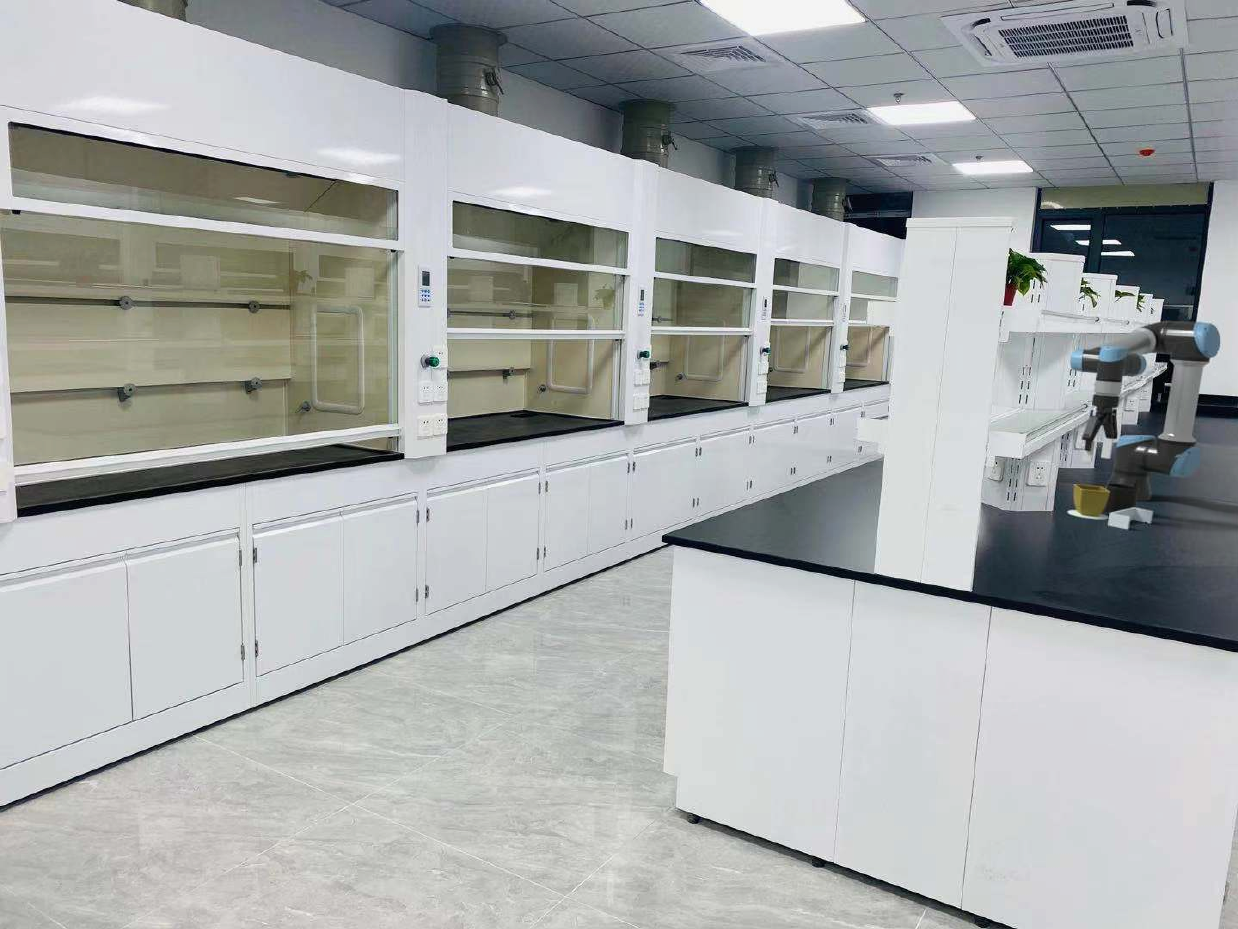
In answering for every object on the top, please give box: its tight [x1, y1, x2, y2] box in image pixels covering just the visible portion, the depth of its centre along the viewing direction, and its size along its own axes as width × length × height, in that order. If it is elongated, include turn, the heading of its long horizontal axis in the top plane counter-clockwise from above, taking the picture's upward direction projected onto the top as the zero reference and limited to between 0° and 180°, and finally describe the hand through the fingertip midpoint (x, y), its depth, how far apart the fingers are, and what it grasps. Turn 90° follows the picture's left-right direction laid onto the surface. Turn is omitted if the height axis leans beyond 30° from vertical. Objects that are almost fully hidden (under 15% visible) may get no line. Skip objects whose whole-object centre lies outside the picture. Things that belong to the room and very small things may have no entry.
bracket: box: [1107, 507, 1154, 530], centre depth 283 cm, size 18×6×4 cm, turn 129°
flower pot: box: [1073, 483, 1110, 516], centre depth 292 cm, size 9×9×9 cm
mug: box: [1102, 484, 1139, 514], centre depth 300 cm, size 9×12×9 cm
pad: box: [1067, 509, 1109, 521], centre depth 293 cm, size 12×12×1 cm
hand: (1096, 459), depth 290 cm, fingers open, 13 cm apart
